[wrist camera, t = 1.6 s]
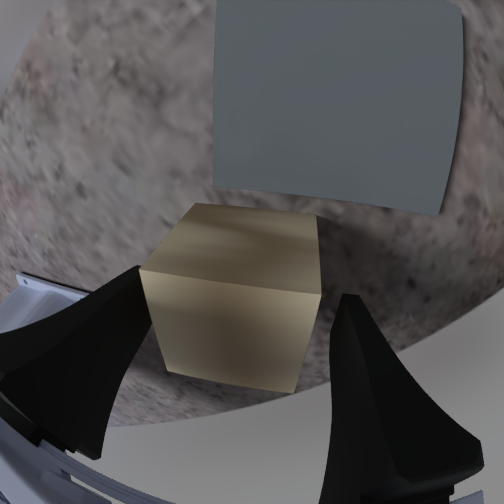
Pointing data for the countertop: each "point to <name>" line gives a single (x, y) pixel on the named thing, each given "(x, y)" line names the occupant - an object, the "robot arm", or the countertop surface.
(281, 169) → the coaster
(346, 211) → the countertop surface
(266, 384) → the block
